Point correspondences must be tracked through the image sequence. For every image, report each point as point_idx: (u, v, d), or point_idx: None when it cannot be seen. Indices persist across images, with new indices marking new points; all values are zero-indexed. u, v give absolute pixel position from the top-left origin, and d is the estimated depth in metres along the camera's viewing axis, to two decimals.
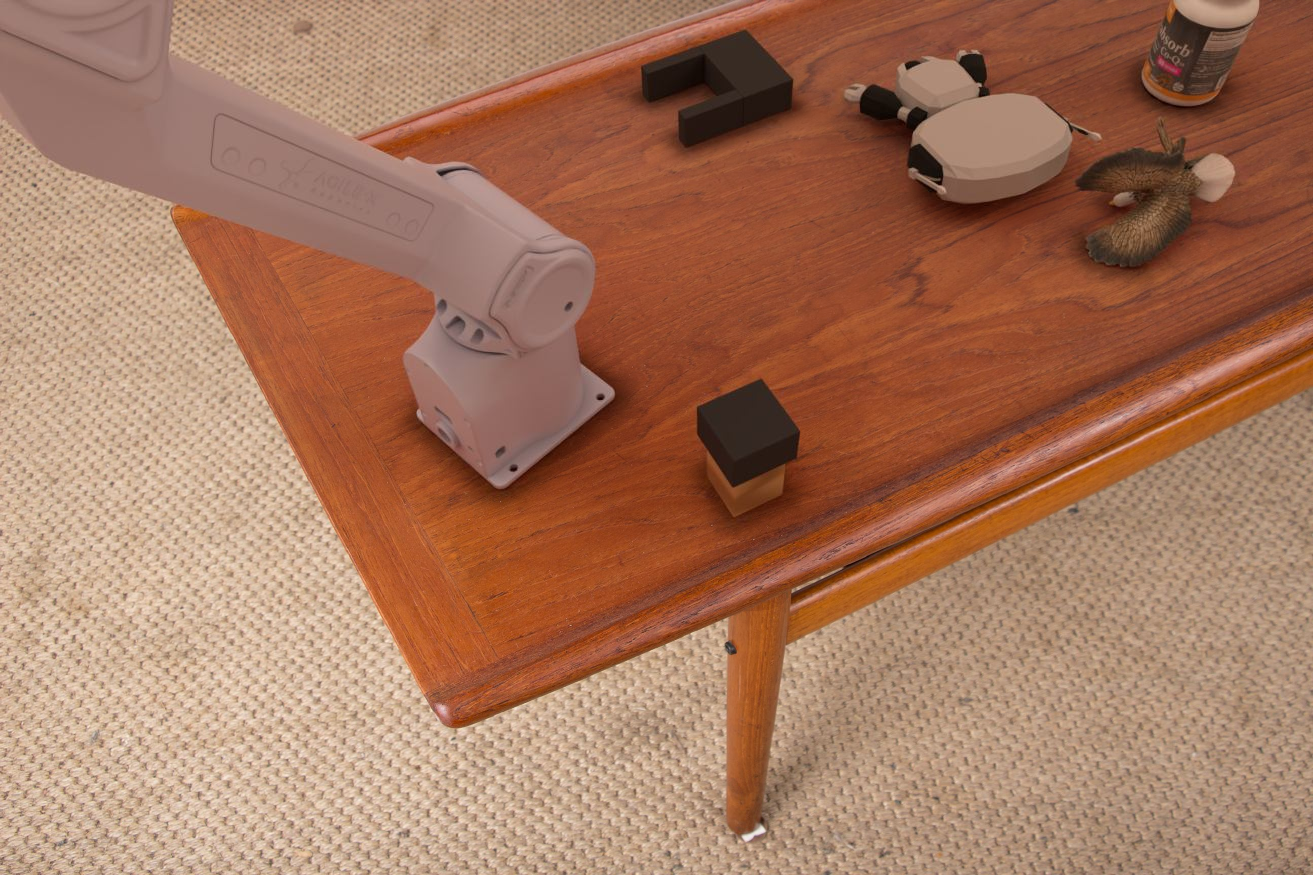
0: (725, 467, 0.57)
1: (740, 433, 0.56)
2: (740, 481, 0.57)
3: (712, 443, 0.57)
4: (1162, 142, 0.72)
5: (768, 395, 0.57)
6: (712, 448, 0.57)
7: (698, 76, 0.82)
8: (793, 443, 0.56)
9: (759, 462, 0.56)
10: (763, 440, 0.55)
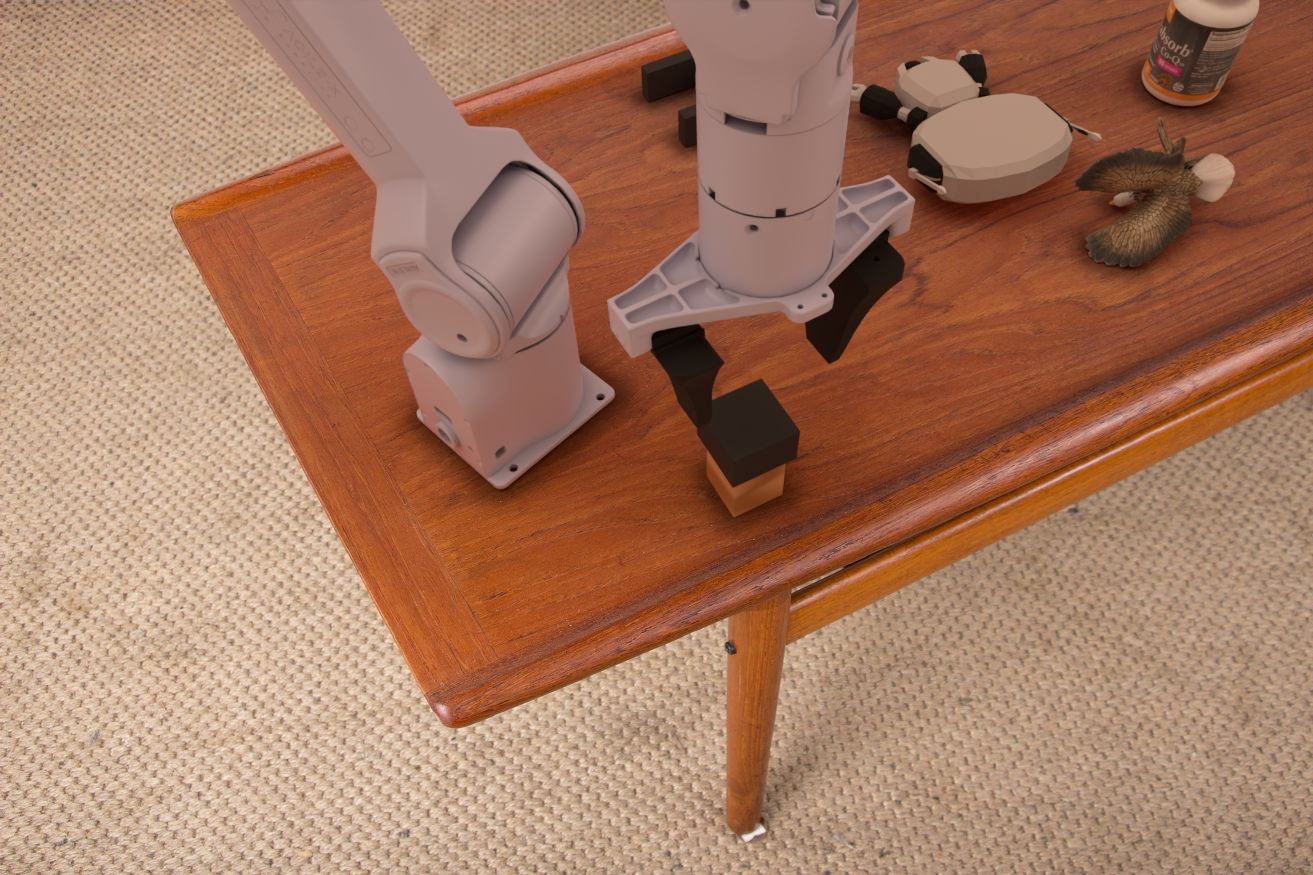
0: (725, 467, 0.57)
1: (740, 433, 0.56)
2: (740, 481, 0.57)
3: (712, 443, 0.57)
4: (1162, 142, 0.72)
5: (768, 395, 0.57)
6: (712, 448, 0.57)
7: None
8: (793, 443, 0.56)
9: (759, 462, 0.56)
10: (763, 440, 0.55)
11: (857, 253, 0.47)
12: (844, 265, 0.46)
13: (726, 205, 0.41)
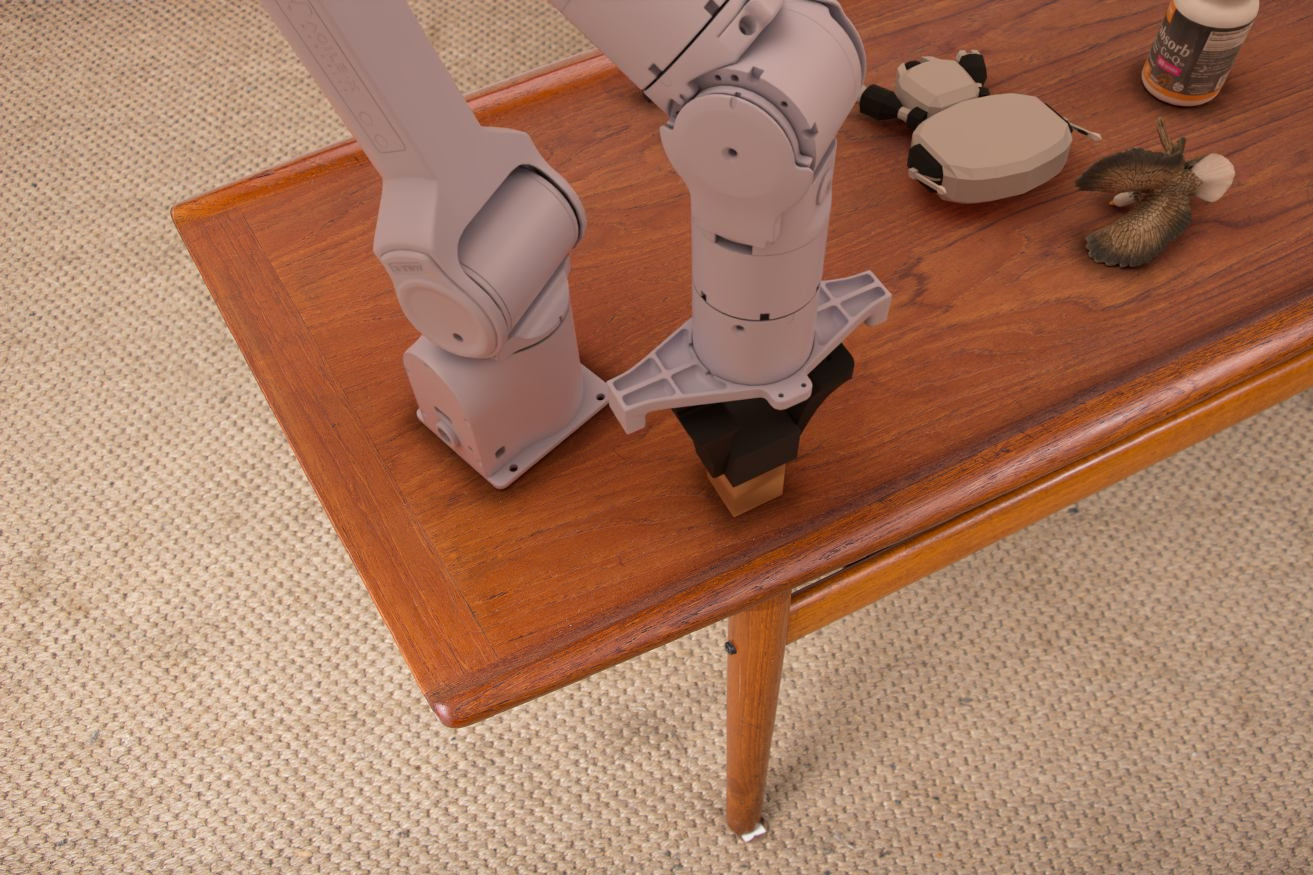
0: None
1: (741, 433, 0.56)
2: (741, 481, 0.57)
3: None
4: (1162, 142, 0.72)
5: None
6: None
7: None
8: (794, 443, 0.56)
9: (759, 462, 0.56)
10: (764, 440, 0.55)
11: (836, 344, 0.51)
12: (823, 356, 0.51)
13: (715, 307, 0.46)
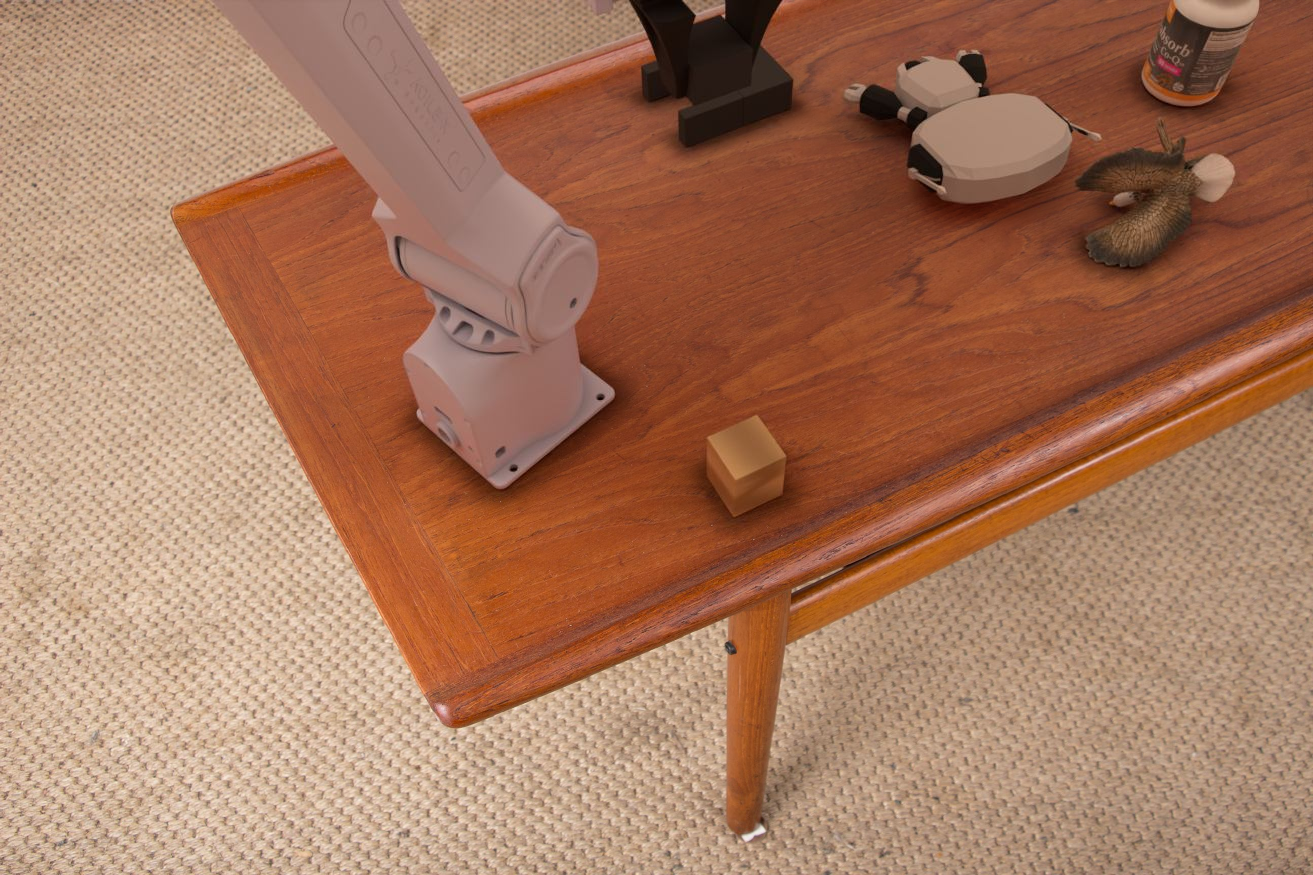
0: (687, 86, 0.64)
1: (700, 51, 0.64)
2: (701, 99, 0.65)
3: None
4: (1162, 142, 0.72)
5: (726, 26, 0.65)
6: None
7: None
8: (747, 64, 0.64)
9: (716, 79, 0.64)
10: (720, 56, 0.63)
11: None
12: None
13: None
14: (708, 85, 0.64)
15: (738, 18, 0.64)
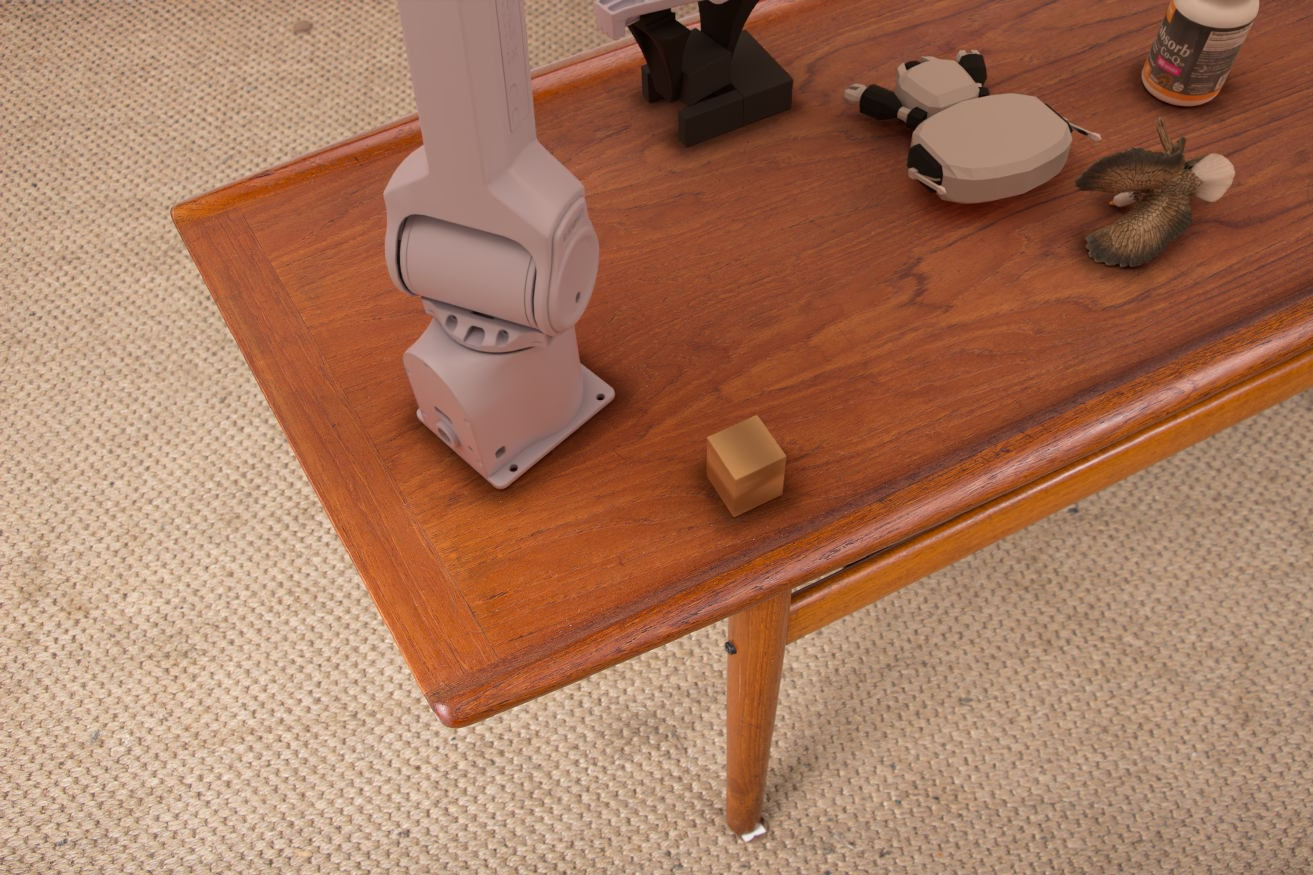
0: (681, 89, 0.77)
1: (689, 59, 0.76)
2: (693, 99, 0.77)
3: None
4: (1162, 142, 0.72)
5: (703, 36, 0.77)
6: None
7: None
8: (727, 65, 0.77)
9: (705, 80, 0.76)
10: (706, 61, 0.76)
11: None
12: None
13: None
14: (699, 87, 0.76)
15: (714, 29, 0.77)
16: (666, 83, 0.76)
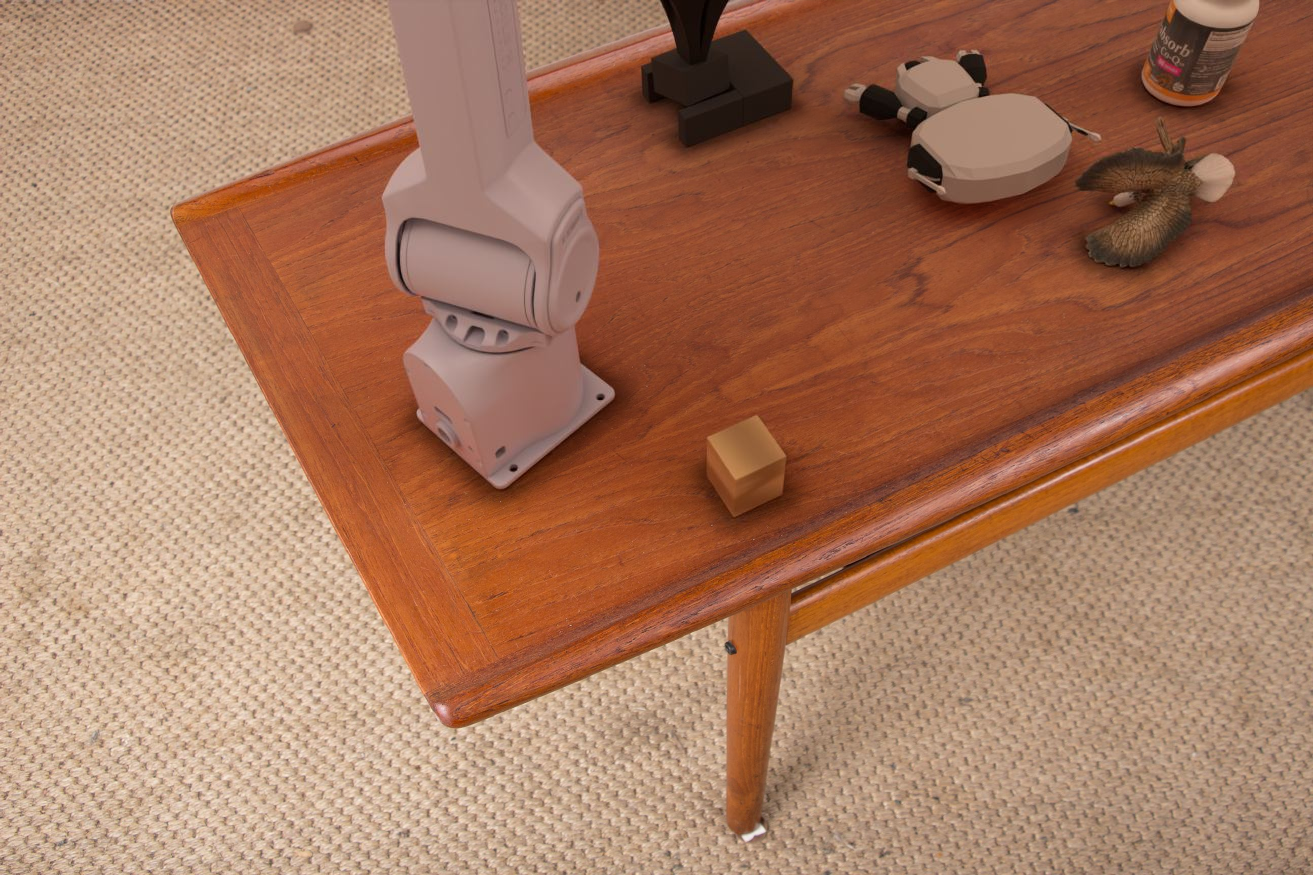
0: (679, 91, 0.77)
1: None
2: (692, 100, 0.77)
3: (667, 80, 0.77)
4: (1162, 142, 0.72)
5: None
6: (667, 86, 0.78)
7: None
8: (725, 68, 0.77)
9: (702, 81, 0.77)
10: (703, 61, 0.76)
11: None
12: None
13: None
14: (697, 86, 0.77)
15: None
16: None
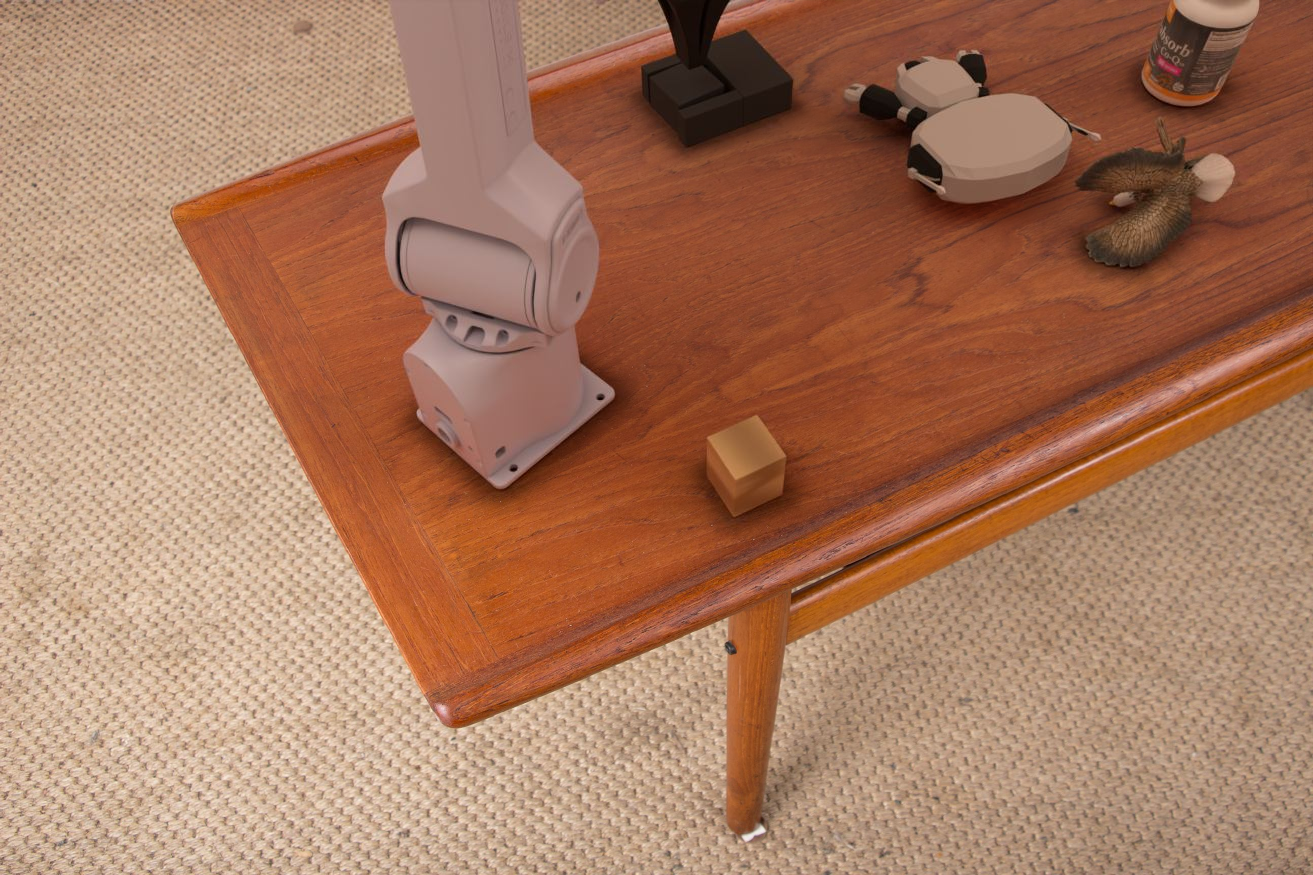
0: (673, 118, 0.79)
1: (682, 89, 0.78)
2: None
3: (662, 103, 0.79)
4: (1162, 142, 0.72)
5: (700, 67, 0.80)
6: (663, 108, 0.80)
7: None
8: None
9: None
10: (699, 92, 0.78)
11: None
12: None
13: None
14: None
15: None
16: None
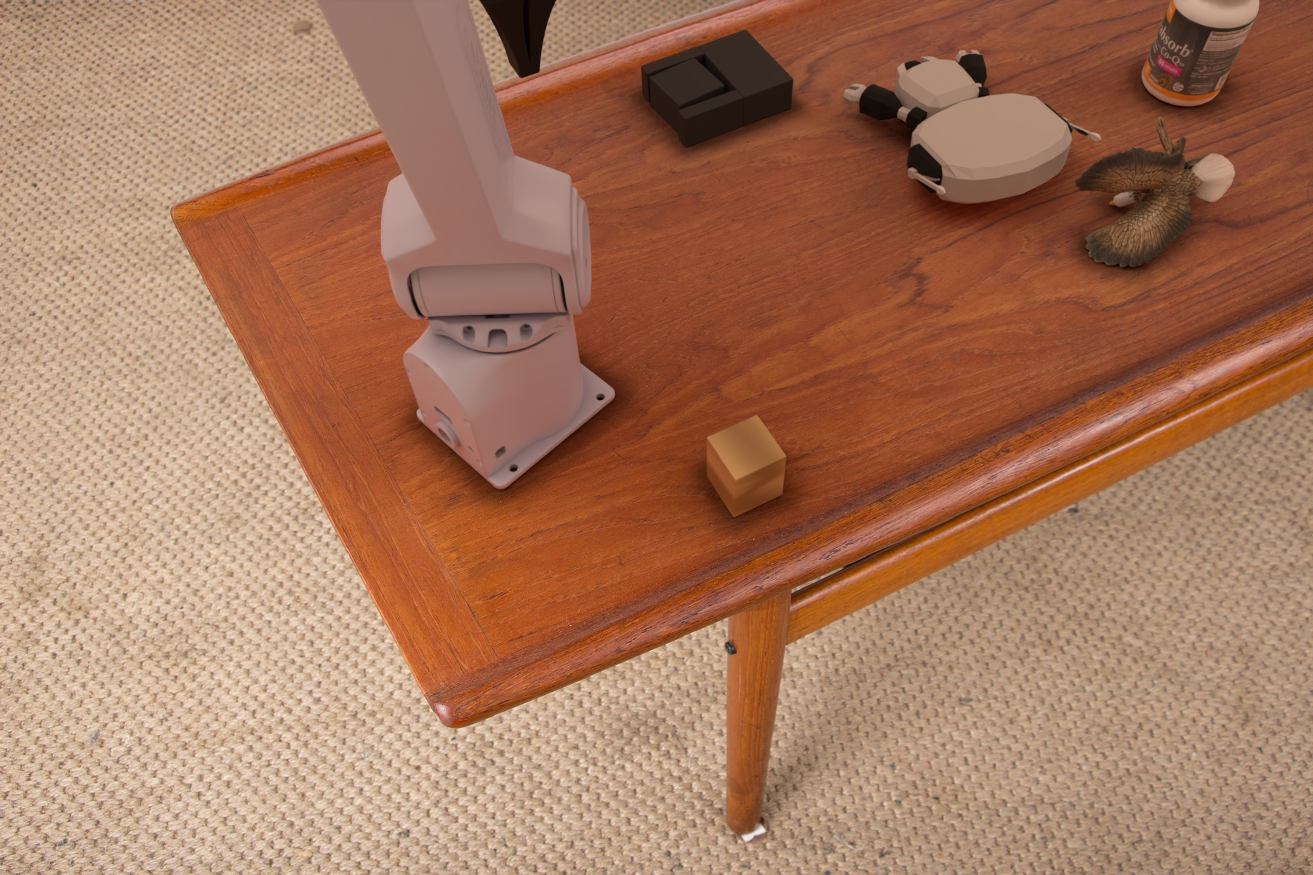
0: (673, 118, 0.79)
1: (682, 89, 0.78)
2: None
3: (662, 103, 0.79)
4: (1162, 142, 0.72)
5: (700, 67, 0.80)
6: (663, 108, 0.80)
7: None
8: None
9: None
10: (699, 92, 0.78)
11: None
12: None
13: None
14: None
15: None
16: None
